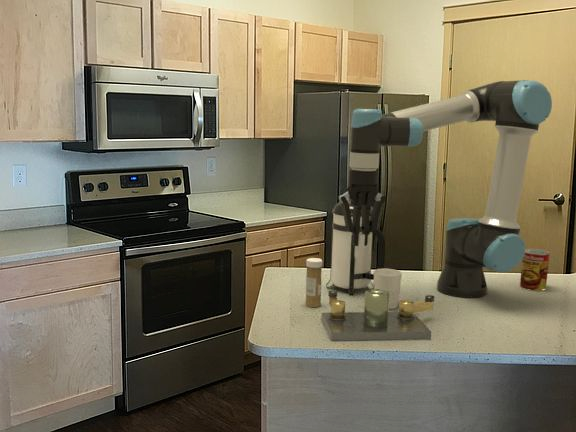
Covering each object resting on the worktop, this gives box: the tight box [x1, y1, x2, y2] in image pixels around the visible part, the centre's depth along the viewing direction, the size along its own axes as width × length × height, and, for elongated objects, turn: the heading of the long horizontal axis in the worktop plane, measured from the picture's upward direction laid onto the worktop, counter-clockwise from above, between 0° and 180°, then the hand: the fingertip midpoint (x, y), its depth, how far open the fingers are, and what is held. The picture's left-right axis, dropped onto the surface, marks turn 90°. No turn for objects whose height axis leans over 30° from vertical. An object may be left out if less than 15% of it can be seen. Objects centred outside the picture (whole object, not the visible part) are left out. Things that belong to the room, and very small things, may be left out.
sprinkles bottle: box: [305, 257, 323, 308], centre depth 180 cm, size 5×5×14 cm
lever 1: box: [327, 290, 346, 319], centre depth 168 cm, size 4×11×4 cm, turn 6°
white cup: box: [373, 268, 403, 310], centre depth 181 cm, size 8×8×10 cm
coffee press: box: [325, 200, 386, 296], centre depth 195 cm, size 17×16×30 cm
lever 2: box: [398, 294, 435, 319], centre depth 168 cm, size 4×11×4 cm, turn 122°
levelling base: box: [321, 288, 432, 342], centre depth 162 cm, size 25×15×11 cm, turn 96°
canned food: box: [519, 248, 550, 291], centre depth 203 cm, size 8×8×12 cm
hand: (358, 257), depth 168 cm, fingers closed
